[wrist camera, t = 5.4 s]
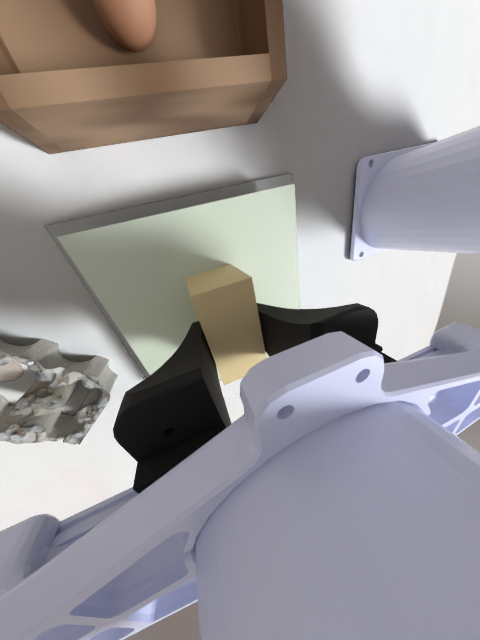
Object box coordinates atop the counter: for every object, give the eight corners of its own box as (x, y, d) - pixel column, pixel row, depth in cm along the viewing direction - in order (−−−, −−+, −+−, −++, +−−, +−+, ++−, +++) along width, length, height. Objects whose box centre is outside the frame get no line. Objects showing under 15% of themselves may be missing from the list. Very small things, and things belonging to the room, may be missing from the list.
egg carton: (-94, 385, 12) (-214, 449, 8) (-49, 295, 11) (-166, 323, 7) (89, 422, 17) (64, 471, 13) (132, 363, 16) (117, 400, 12)
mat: (288, 174, 13) (291, 173, 13) (300, 344, 21) (302, 346, 20) (48, 226, 10) (44, 225, 10) (163, 400, 18) (163, 403, 18)
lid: (287, 186, 11) (346, 163, 7) (296, 343, 18) (330, 374, 14) (65, 236, 9) (-17, 241, 5) (168, 394, 16) (166, 449, 12)
